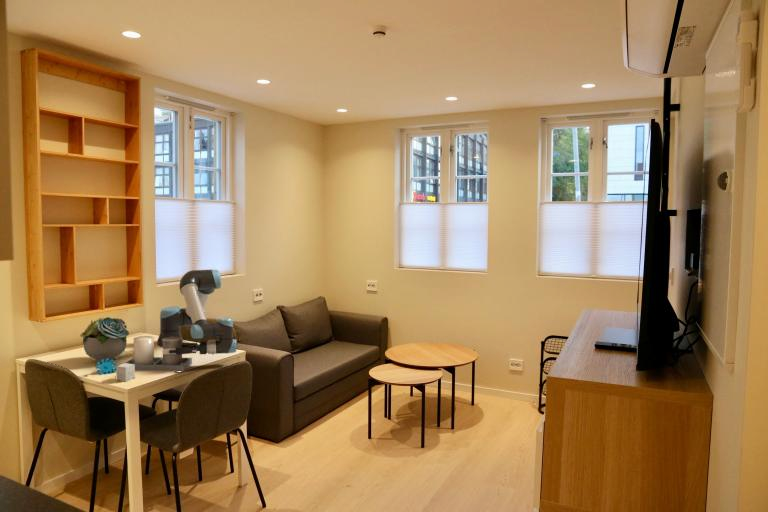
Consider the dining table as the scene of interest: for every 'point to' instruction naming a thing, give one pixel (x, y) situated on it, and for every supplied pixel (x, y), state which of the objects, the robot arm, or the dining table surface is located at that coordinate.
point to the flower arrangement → (105, 338)
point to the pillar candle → (170, 344)
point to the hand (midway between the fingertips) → (163, 349)
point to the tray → (159, 365)
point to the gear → (106, 366)
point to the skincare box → (125, 372)
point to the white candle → (144, 350)
